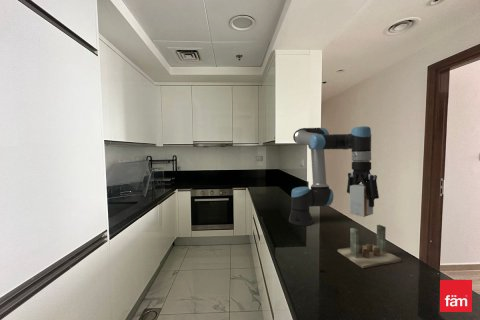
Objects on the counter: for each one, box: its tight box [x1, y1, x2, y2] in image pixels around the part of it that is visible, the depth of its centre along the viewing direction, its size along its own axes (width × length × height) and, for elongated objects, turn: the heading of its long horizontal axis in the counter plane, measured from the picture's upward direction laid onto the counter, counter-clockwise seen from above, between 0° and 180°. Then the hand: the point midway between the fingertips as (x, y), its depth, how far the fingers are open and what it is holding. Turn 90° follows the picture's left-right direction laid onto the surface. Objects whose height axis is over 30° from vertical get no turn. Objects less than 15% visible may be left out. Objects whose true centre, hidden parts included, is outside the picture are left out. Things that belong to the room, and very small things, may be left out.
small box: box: [349, 183, 372, 218], centre depth 88 cm, size 8×6×13 cm
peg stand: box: [337, 224, 402, 269], centre depth 87 cm, size 14×20×13 cm
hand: (361, 211), depth 88 cm, fingers closed on small box, 8 cm apart
